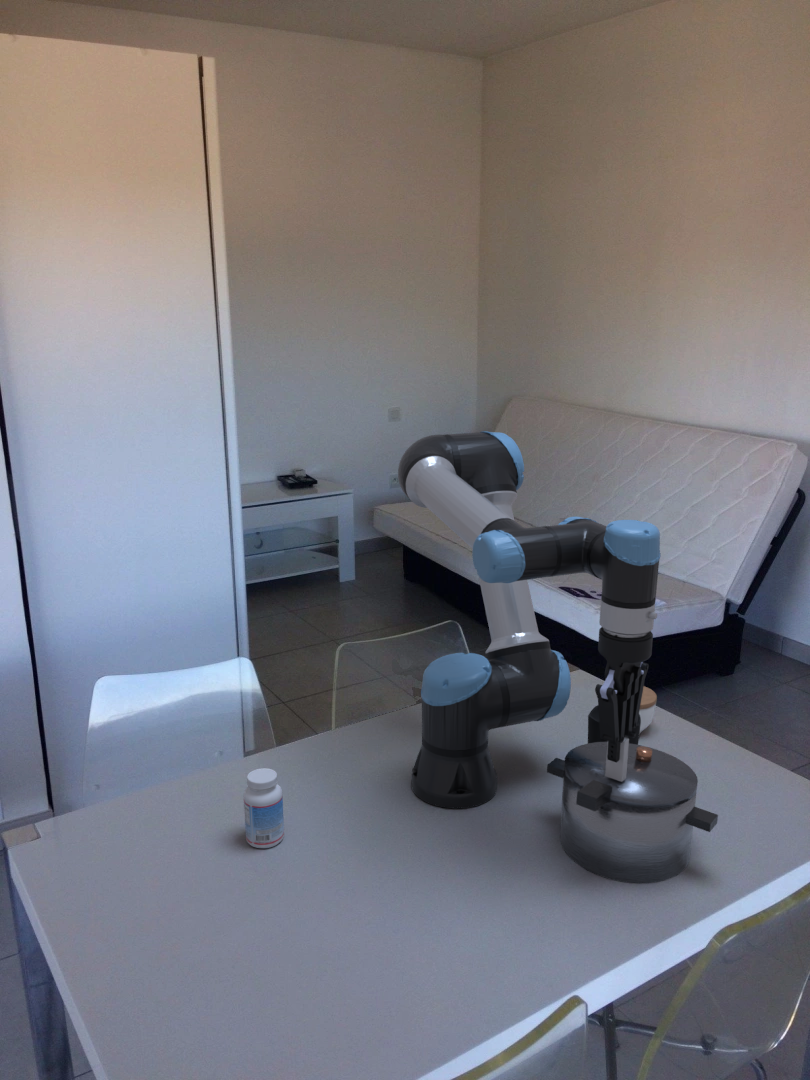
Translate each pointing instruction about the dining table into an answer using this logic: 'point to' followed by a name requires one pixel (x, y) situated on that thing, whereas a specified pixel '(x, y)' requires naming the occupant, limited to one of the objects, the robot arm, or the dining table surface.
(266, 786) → the pill bottle
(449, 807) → the robot arm
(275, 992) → the dining table surface
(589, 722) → the pen holder
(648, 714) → the lidded jar
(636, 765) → the pot lid
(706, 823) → the cooking pot
